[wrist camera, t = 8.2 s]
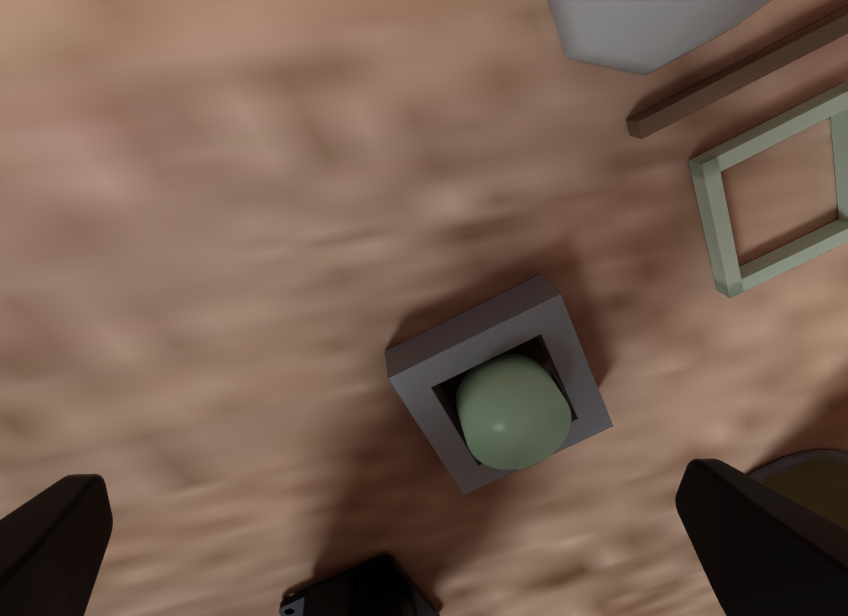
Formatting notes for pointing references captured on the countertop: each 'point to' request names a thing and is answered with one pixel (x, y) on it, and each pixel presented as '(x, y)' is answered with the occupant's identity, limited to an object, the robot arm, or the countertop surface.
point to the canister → (812, 481)
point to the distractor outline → (838, 103)
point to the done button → (512, 412)
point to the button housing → (480, 341)
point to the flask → (643, 29)
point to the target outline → (740, 74)
